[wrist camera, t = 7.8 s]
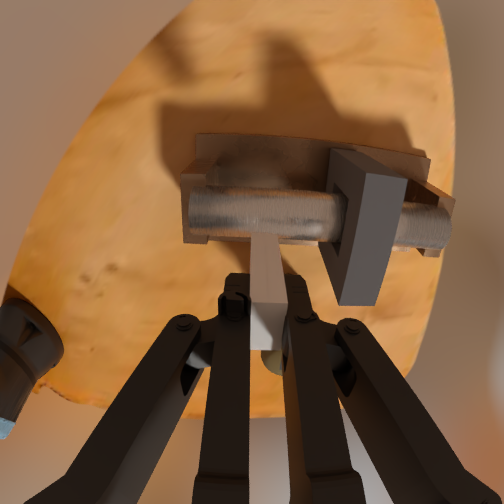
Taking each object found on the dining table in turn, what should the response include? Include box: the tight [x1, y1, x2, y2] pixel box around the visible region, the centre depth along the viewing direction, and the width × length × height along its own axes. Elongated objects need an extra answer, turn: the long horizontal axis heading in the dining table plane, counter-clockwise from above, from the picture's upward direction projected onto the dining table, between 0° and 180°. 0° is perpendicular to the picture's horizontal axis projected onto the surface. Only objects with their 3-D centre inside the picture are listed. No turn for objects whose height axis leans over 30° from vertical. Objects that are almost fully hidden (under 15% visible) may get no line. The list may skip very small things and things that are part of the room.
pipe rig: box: [180, 133, 455, 257], centre depth 25 cm, size 24×11×9 cm, turn 87°
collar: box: [318, 148, 408, 306], centre depth 23 cm, size 3×10×10 cm, turn 178°
